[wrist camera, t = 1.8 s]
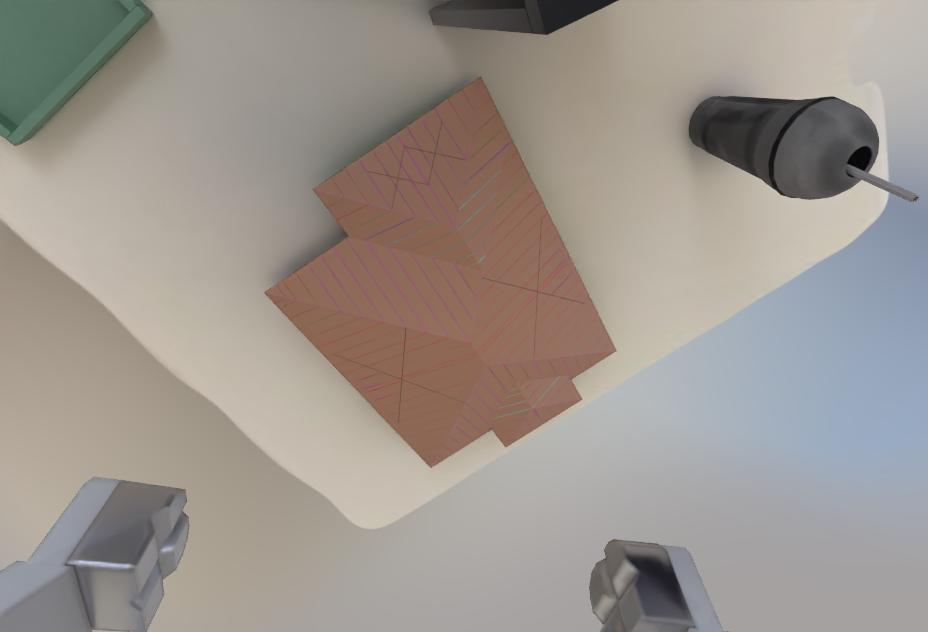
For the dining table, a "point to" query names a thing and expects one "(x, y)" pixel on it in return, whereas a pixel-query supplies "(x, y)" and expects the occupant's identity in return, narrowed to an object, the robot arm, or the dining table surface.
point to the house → (448, 285)
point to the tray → (55, 54)
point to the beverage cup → (793, 143)
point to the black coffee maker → (514, 14)
